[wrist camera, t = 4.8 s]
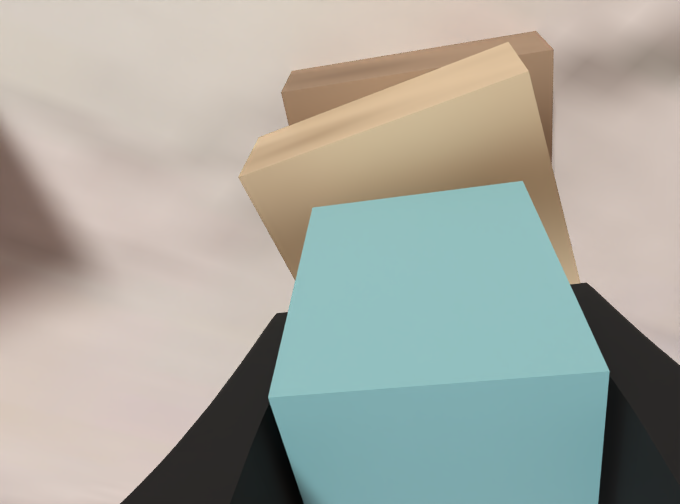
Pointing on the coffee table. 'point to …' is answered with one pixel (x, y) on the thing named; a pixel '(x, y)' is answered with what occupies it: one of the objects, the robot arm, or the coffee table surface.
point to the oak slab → (411, 150)
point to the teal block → (438, 357)
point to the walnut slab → (412, 76)
